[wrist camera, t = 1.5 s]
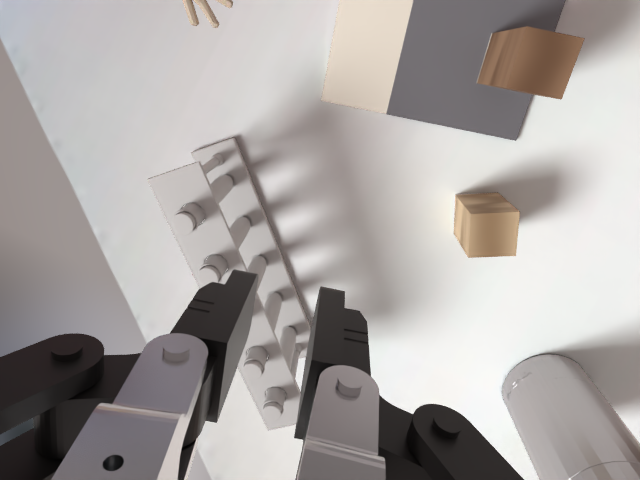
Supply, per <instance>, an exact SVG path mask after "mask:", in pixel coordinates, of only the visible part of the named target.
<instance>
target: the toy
mask: <svg viewBox="0 0 640 480" xmlns="http://www.w3.org/2000/svg"><path fill="white" fill-rule="evenodd" d="M182 1H183V4H184V6H185V9H186V12H187V15H188V18H189V21H190V24H191V25H194V26H197V25H198V24H199V21H198V18H197V15H196V11H195V8H194V5H193V2H192V0H182ZM193 1H195V2H196V3H197V4H198V5H199V6H200V8H201V9H202V11H203V12H204V14H205V15H206V17H207V19H208V20H209V22H210V23H211V25H212V26H213V28H217V27H218V26H219V22H218V21H217V19H216V17H215V15H214V14H213V12H212V10H211V8H210V6H209V5H208V3H207V1H206V0H193ZM216 1H218V2H219V3H221V4H223V5H225V6H226V7H228V8H231V7H232V5H233V1H231V0H216Z"/></svg>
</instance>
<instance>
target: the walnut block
mask: <svg viewBox="0 0 640 480" xmlns="http://www.w3.org/2000/svg"><path fill="white" fill-rule="evenodd" d="M584 39H585V38H580V37H576V36H571V35H566V34H561V33H556V32H552V31H547V30H542V29H537V28H532V27H528V26H526V27H521V28H516V29H511V30H506V31H501V32H496V33H492V34H491V37H490V40H489V43H488V47H487V50H486V53H485V57H484V60H483V63H482V66H481V70H480V73H479V76H478V79H477V83H478V84H483V85H488V86H493V87H498V88H502V89H507V90H512V91H517V92H522V93H528V94H533V95H539V96H545V97H551V98H557V99H562V97H563V94H564V91H565V89H566V86H567V84H568V81H569V78H570V76H571V73H572V70H573V68H574V65H575V62H576V60H577V57H578V54H579V52H580V49H581V46H582V44H583V41H584Z"/></svg>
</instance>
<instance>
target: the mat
mask: <svg viewBox="0 0 640 480" xmlns="http://www.w3.org/2000/svg"><path fill="white" fill-rule="evenodd" d="M564 3H565V0H339V5H338V11H337V16H336V22H335V27H334V33H333V38H332V43H331V49H330V54H329V60H328V65H327V71H326V76H325V82H324V87H323V92H322V98H321V101H325V102H330V103H335V104H340V105H345V106H349V107H354V108H359V109H364V110H369V111H374V112H379V113H384V114H388V115H393V116H398V117H403V118H408V119H413V120H418V121H423V122H427V123H432V124H437V125H442V126H447V127H452V128H457V129H462V130H466V131H471V132H476V133H481V134H486V135H491V136H496V137H501V138H505V139H510V140H515V141H516V139H517V136H518V133H519V130H520V128H521V125H522V122H523V119H524V116H525V113H526V111H527V108H528V105H529V102H530V99H531V96H532V94H528V93H522V92H517V91H512V90H507V89H502V88H498V87H493V86H488V85H483V84H478V83H477V79H478V76H479V73H480V70H481V66H482V63H483V60H484V57H485V53H486V50H487V47H488V43H489V40H490V37H491V34H492V33H496V32H501V31H506V30H511V29H516V28H521V27H526V26H528V27H532V28H537V29H542V30H547V31H552V32H554V31H555V28H556V26H557V23H558V20H559V17H560V14H561V11H562V9H563V6H564Z"/></svg>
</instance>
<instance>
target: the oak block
mask: <svg viewBox="0 0 640 480" xmlns="http://www.w3.org/2000/svg"><path fill="white" fill-rule="evenodd" d="M519 215H520V211H518V210H517V209H516V208H515V207H514V206H513V205H512V204H511V203H509V202H508V201H507V200H506V199H505V198H504V197H503V196H501V195H500V194H499V193H498V192H495V193H476V194H457V195H455V213H454V235H455V236H456V238H457V240H458V241H459V243H460V245H461V246H462V248H463V250H464V251H465V253H466V255H467V256H468V258H472V257H497V256H516V248H517V237H518V226H519Z"/></svg>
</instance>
